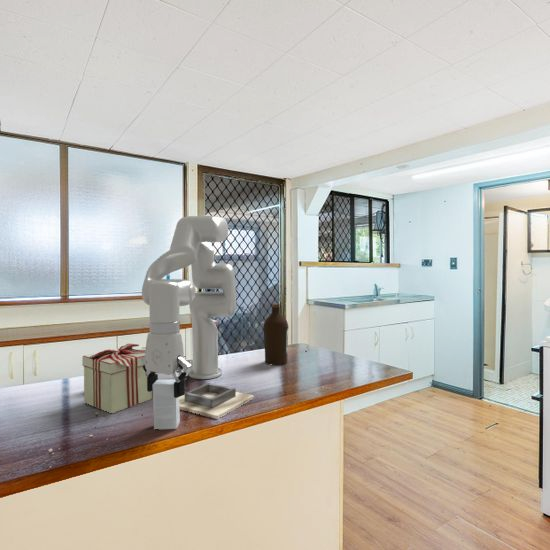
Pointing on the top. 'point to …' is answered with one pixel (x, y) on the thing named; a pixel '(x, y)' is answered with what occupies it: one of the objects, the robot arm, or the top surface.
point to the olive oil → (276, 337)
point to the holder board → (213, 400)
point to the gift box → (115, 379)
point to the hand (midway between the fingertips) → (165, 393)
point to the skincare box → (165, 405)
